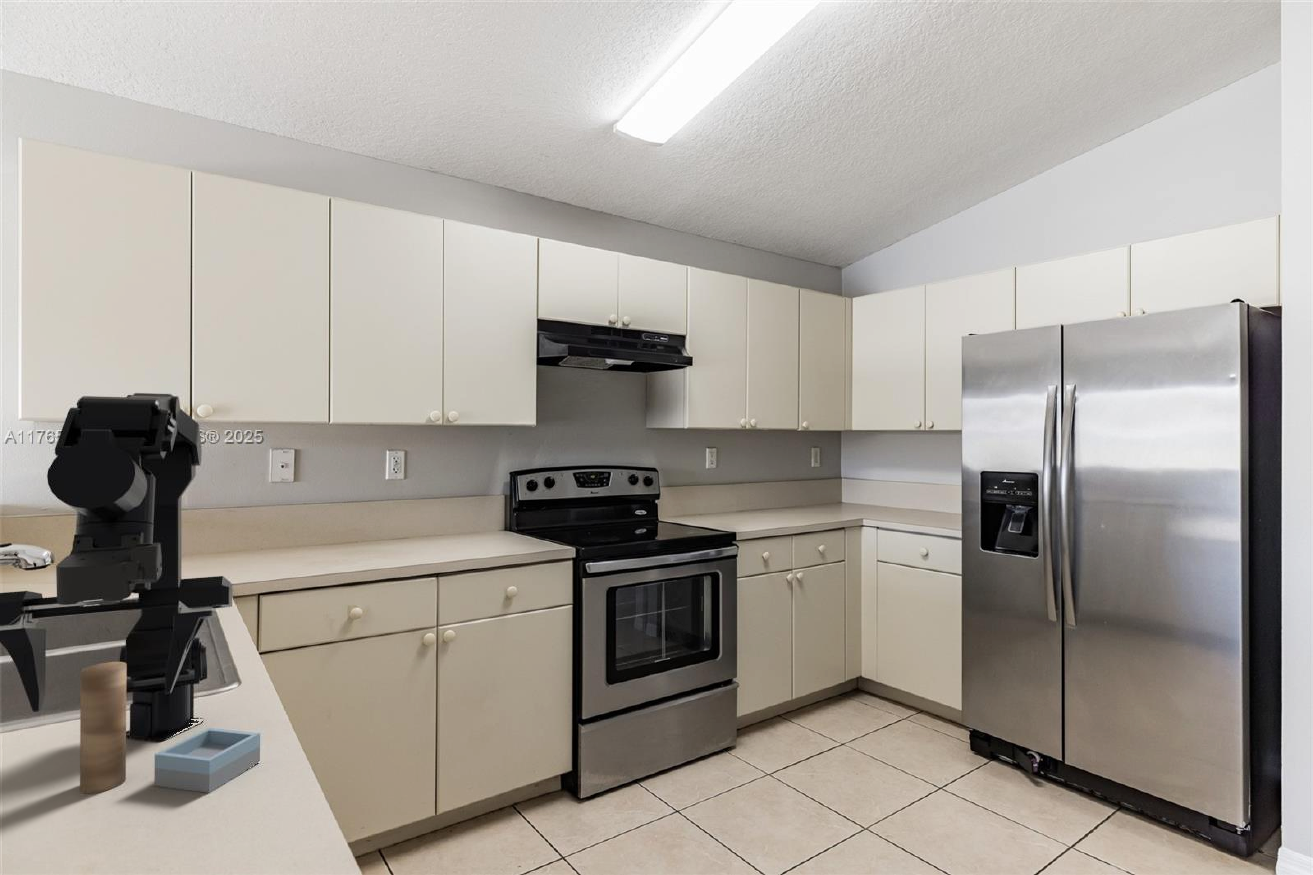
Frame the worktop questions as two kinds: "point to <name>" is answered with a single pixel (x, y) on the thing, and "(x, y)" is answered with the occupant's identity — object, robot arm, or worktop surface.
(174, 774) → the light blue open box
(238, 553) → the worktop surface
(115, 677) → the pillar
